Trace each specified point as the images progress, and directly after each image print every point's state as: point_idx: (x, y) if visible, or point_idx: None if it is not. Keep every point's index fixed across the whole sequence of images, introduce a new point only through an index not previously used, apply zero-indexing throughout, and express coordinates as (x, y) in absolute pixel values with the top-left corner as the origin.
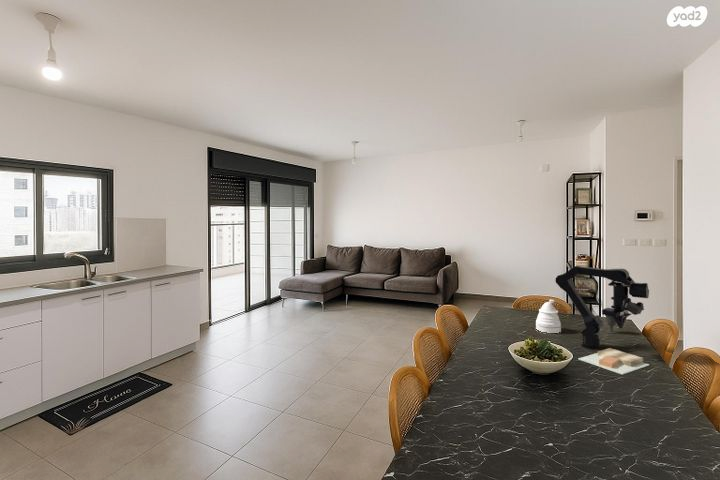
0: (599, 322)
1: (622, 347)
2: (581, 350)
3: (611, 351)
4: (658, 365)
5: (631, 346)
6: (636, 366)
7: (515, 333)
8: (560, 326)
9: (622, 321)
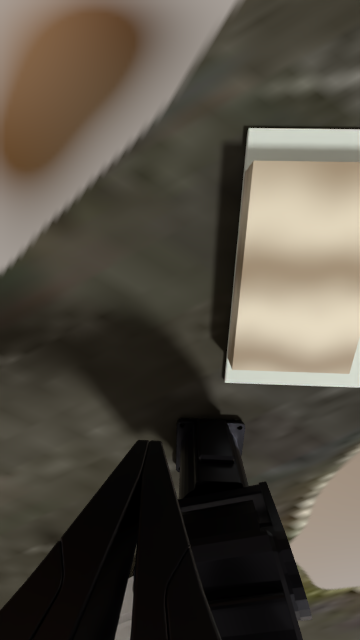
0: (230, 632)
1: (87, 367)
2: (294, 438)
3: (284, 336)
4: (200, 97)
5: (32, 352)
6: (347, 155)
7: None
8: (130, 612)
9: (159, 562)
